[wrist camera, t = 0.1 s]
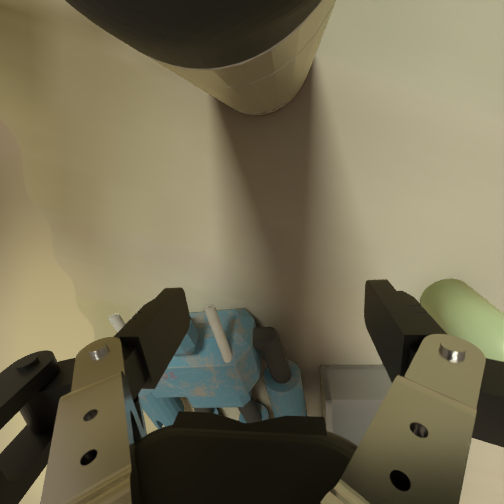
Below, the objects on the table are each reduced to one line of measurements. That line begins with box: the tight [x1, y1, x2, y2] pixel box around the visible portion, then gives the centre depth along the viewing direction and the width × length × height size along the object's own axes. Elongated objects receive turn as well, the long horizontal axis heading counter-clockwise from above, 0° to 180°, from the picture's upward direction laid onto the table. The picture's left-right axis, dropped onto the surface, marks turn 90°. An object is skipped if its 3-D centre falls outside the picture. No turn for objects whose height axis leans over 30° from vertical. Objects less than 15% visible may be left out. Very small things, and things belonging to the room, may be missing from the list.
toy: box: [107, 305, 307, 429], centre depth 33 cm, size 22×9×30 cm
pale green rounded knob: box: [420, 279, 504, 362], centre depth 24 cm, size 5×5×11 cm
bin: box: [320, 365, 392, 446], centre depth 35 cm, size 17×14×5 cm
